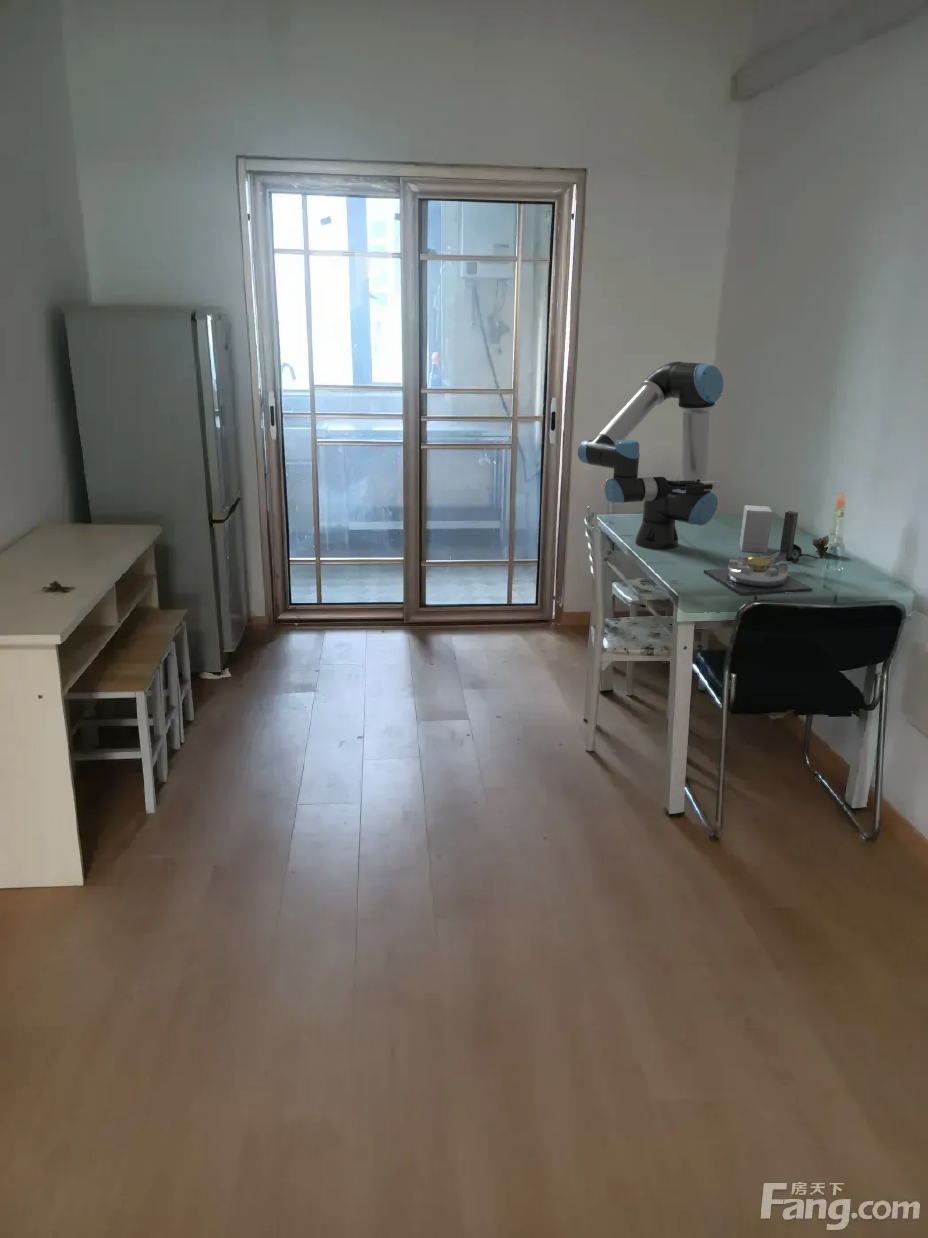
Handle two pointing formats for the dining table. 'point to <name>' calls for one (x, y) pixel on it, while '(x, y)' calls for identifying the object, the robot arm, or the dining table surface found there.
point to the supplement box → (755, 528)
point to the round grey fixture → (774, 573)
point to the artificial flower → (797, 551)
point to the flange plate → (742, 589)
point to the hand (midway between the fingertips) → (719, 485)
